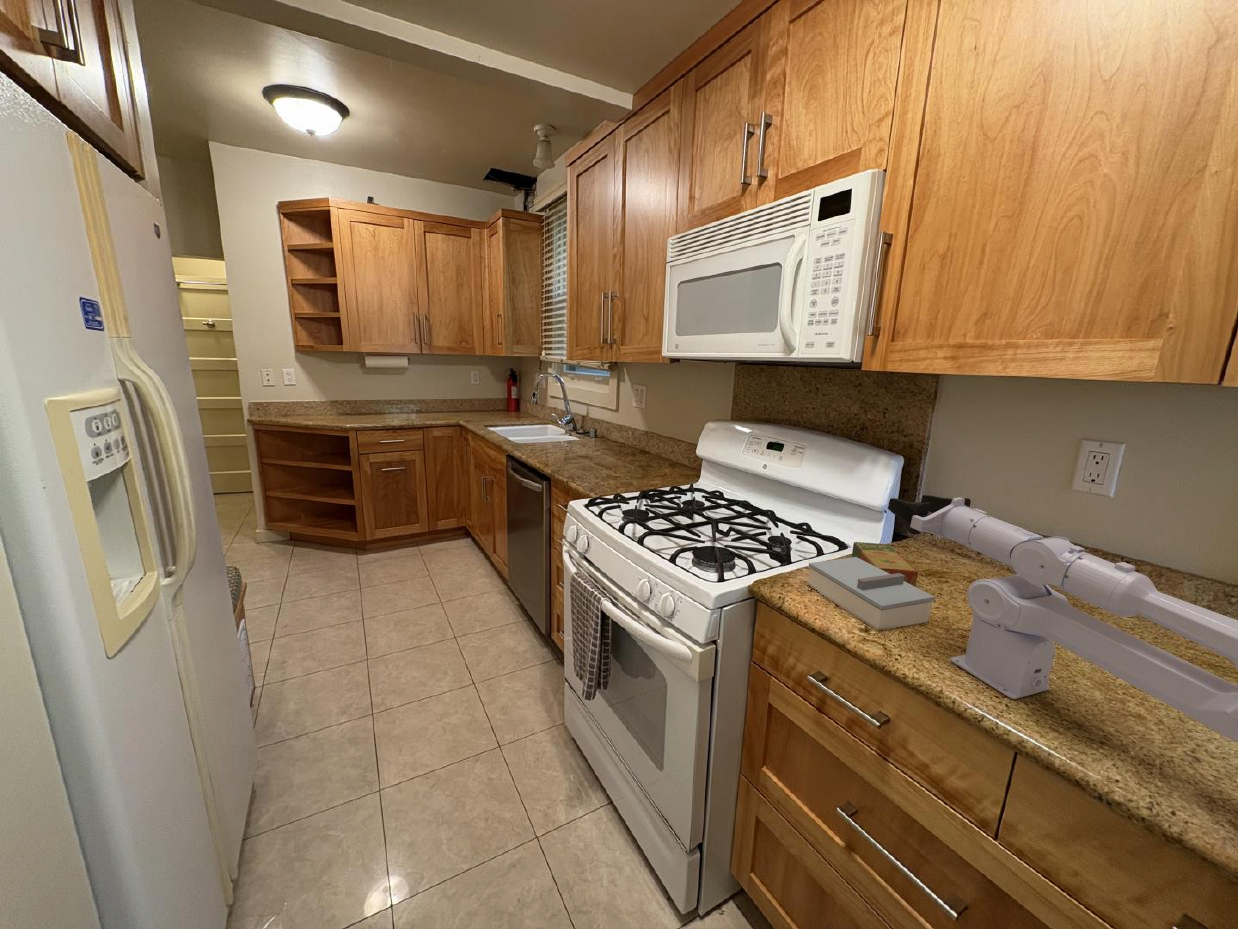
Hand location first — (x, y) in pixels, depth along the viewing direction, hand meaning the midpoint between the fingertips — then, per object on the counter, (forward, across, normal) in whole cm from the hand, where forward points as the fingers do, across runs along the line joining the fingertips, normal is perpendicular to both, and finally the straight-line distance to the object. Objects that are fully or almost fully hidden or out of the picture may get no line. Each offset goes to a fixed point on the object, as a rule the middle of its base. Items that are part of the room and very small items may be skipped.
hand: (906, 501), depth 87 cm
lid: (+3, +2, +18) cm, 18 cm away
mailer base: (+2, +2, +22) cm, 22 cm away
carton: (+13, -14, +23) cm, 30 cm away
